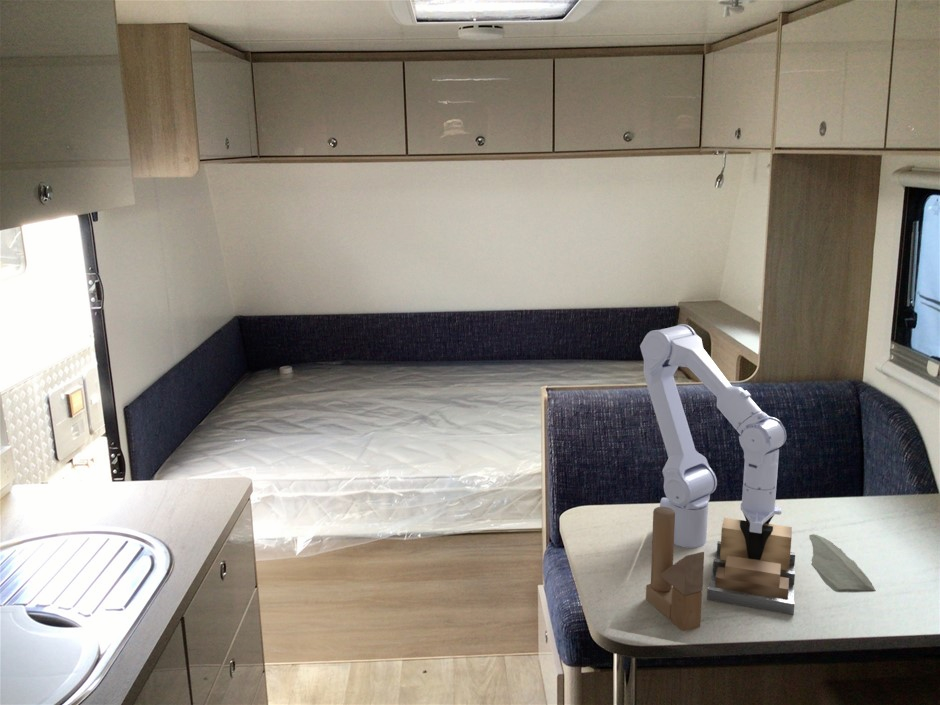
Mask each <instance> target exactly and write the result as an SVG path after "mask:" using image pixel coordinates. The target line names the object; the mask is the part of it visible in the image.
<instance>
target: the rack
mask: <svg viewBox="0 0 940 705" xmlns="http://www.w3.org/2000/svg"><path fill="white" fill-rule="evenodd" d="M716 545H717V547H716V554H715V558H713V562H712V563H713V564H712V565H713V566H712V573H711V579H710V583H709V585H708V586H707V590H706V592H707V593H706V601H712V602H717V603H722V604H729V605H734V606H739V607H746V608H752V609H756V610H763V611H768V612H774V613H780V614H784V615H790V616H794V615H795V614H794V613H795V602H796V601H795V580H796V579H795V578H796V577H795V576H796V571H795V566H796V565H795V564H796V562H795V561H796V552H793V551H790V563H789V571H788V570H782V569H780V577H785V578H789V591H788V600H785V599H779V598H773V597H767V596H761V595H756V594H750V593H744V592H738V591H732V590H726V589H721V588H715V580H716V573H717V568H718V567H723V568H725V565H726V561H725V560H720V550H721V540H720V541H719V540H717V544H716Z"/></svg>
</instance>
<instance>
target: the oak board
mask: <svg viewBox="0 0 940 705" xmlns="http://www.w3.org/2000/svg"><path fill="white" fill-rule="evenodd" d="M741 520H742V519H736V518H729V517H723V521H722V525H721V534H720V536H721V537H720V542H721V550H720V560H725V561H726V559H727V555H728V556H734V557H741V558H747V559H750V558H748V554H747V548H746V541H745V537H744V534H743V532H742V530H741V528H740V521H741ZM763 525H766V526H773V531H772V533H771V535H770V536H769V537H768V539H767V541H766V543H765V546H764V550H763V554H762V557H761V559H760V561H766V562H773V563H779V564H781V569H782V570H788V571H789V563H790V552H792V550H791V549H792V547H791V546H792V539H793V538H792V532H793V531H792V530H793V529H792V528H793V527H792V526H786V525H778V524H773V523H769V524H766V523H764V524H763ZM753 560H756V559H753Z"/></svg>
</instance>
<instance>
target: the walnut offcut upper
mask: <svg viewBox="0 0 940 705" xmlns="http://www.w3.org/2000/svg"><path fill="white" fill-rule="evenodd" d="M780 569H781V564H779V563H773V562H766V561H760V560H753V559H747V558H741V557H734V556H728V555H727V559H726V565H725V579H730V580H736V581H741V582H747V583H753V584H759V585H765V586H771V587H777V588H779V584H780Z"/></svg>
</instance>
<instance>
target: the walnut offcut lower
mask: <svg viewBox="0 0 940 705" xmlns="http://www.w3.org/2000/svg"><path fill="white" fill-rule="evenodd" d="M715 588H721V589H726V590H732V591H738V592H744V593H750V594H756V595H761V596H767V597H773V598H779V599H785V600H788V591H789V578H785V577H780V584H779V588H777V587H771V586H765V585H759V584H753V583H747V582H741V581H736V580H730V579H725V568H723V567H718V568H717V573H716V580H715Z"/></svg>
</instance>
